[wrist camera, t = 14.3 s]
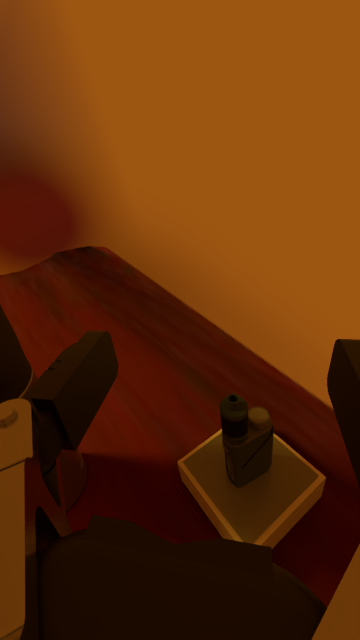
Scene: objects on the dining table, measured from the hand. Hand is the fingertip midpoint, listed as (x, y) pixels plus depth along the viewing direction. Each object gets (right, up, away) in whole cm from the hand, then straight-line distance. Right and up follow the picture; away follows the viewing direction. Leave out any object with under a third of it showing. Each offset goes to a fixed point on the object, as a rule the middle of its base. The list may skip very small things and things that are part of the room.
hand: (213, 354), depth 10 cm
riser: (+7, -18, +23) cm, 30 cm away
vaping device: (+6, -15, +20) cm, 26 cm away
